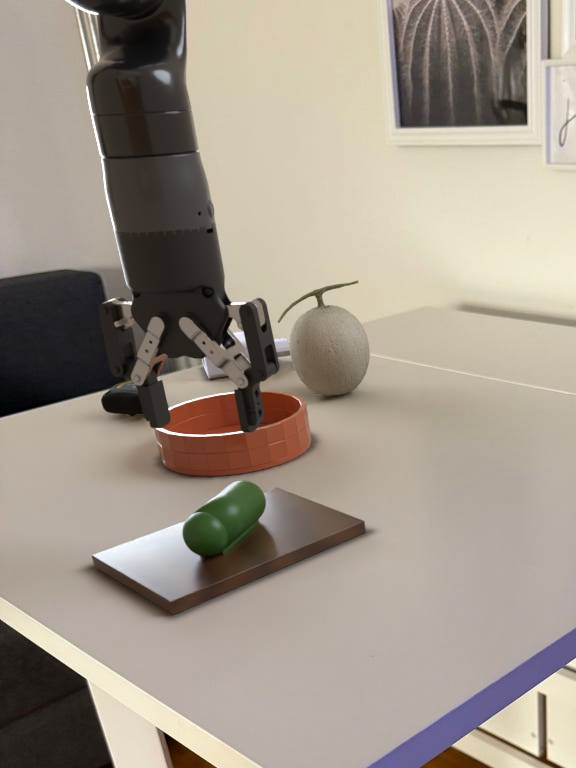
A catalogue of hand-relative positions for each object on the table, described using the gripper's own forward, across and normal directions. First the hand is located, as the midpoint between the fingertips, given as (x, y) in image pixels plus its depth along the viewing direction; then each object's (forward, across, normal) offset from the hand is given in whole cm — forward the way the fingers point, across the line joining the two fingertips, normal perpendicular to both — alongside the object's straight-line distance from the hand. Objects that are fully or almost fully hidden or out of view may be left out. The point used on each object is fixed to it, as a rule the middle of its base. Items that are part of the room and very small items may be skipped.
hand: (206, 427), depth 79 cm
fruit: (+12, -10, +48) cm, 51 cm away
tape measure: (+12, -33, +38) cm, 52 cm away
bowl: (+12, -12, +26) cm, 31 cm away
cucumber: (+10, 0, 0) cm, 10 cm away
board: (+11, 0, 0) cm, 11 cm away
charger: (+12, -28, +62) cm, 69 cm away
